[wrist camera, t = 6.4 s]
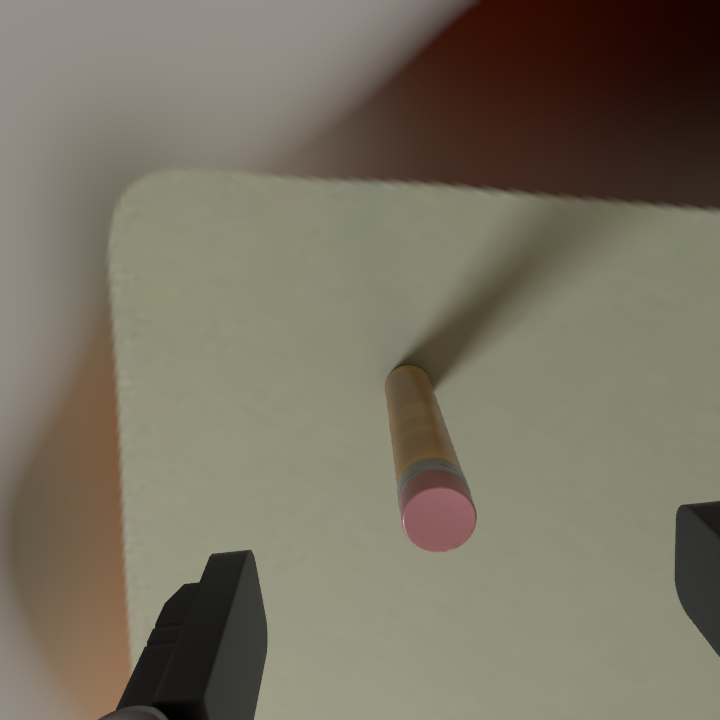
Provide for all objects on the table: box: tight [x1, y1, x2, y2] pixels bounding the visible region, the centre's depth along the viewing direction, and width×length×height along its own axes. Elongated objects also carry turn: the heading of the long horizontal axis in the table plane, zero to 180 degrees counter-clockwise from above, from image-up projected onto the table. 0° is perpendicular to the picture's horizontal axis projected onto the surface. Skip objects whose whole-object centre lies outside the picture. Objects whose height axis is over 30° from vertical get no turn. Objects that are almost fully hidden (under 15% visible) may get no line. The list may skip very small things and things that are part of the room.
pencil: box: [385, 365, 477, 552], centre depth 17 cm, size 2×2×9 cm
